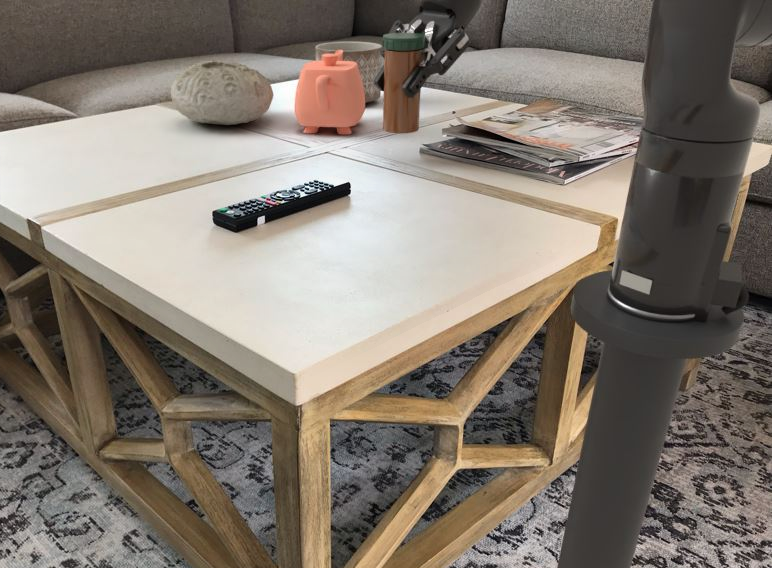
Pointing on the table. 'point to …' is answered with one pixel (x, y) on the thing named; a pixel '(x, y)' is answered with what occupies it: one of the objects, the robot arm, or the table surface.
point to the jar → (400, 92)
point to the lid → (403, 41)
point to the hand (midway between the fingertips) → (392, 90)
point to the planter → (358, 62)
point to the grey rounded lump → (221, 93)
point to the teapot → (329, 94)
